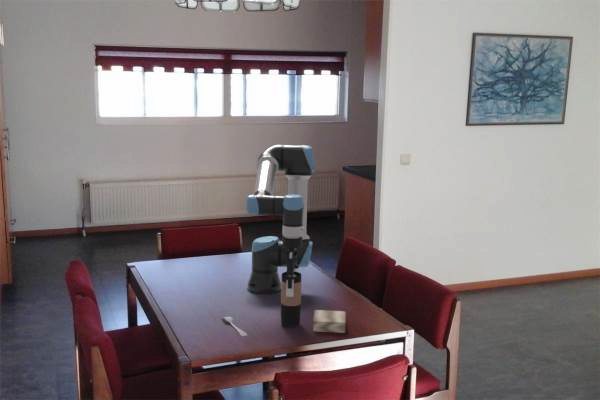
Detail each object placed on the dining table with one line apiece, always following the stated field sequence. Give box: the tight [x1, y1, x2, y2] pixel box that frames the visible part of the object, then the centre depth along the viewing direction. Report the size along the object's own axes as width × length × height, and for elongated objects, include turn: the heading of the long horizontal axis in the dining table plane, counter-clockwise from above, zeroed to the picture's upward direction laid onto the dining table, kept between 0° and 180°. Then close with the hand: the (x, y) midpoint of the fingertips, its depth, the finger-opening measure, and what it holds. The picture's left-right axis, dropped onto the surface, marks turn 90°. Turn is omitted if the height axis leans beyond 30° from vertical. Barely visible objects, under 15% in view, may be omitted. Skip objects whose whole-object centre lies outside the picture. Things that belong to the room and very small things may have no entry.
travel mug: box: [280, 271, 302, 328], centre depth 242 cm, size 8×8×20 cm
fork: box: [222, 316, 248, 337], centre depth 240 cm, size 3×21×3 cm, turn 30°
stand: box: [312, 309, 347, 334], centre depth 242 cm, size 12×12×4 cm
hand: (291, 290), depth 241 cm, fingers open, 13 cm apart
